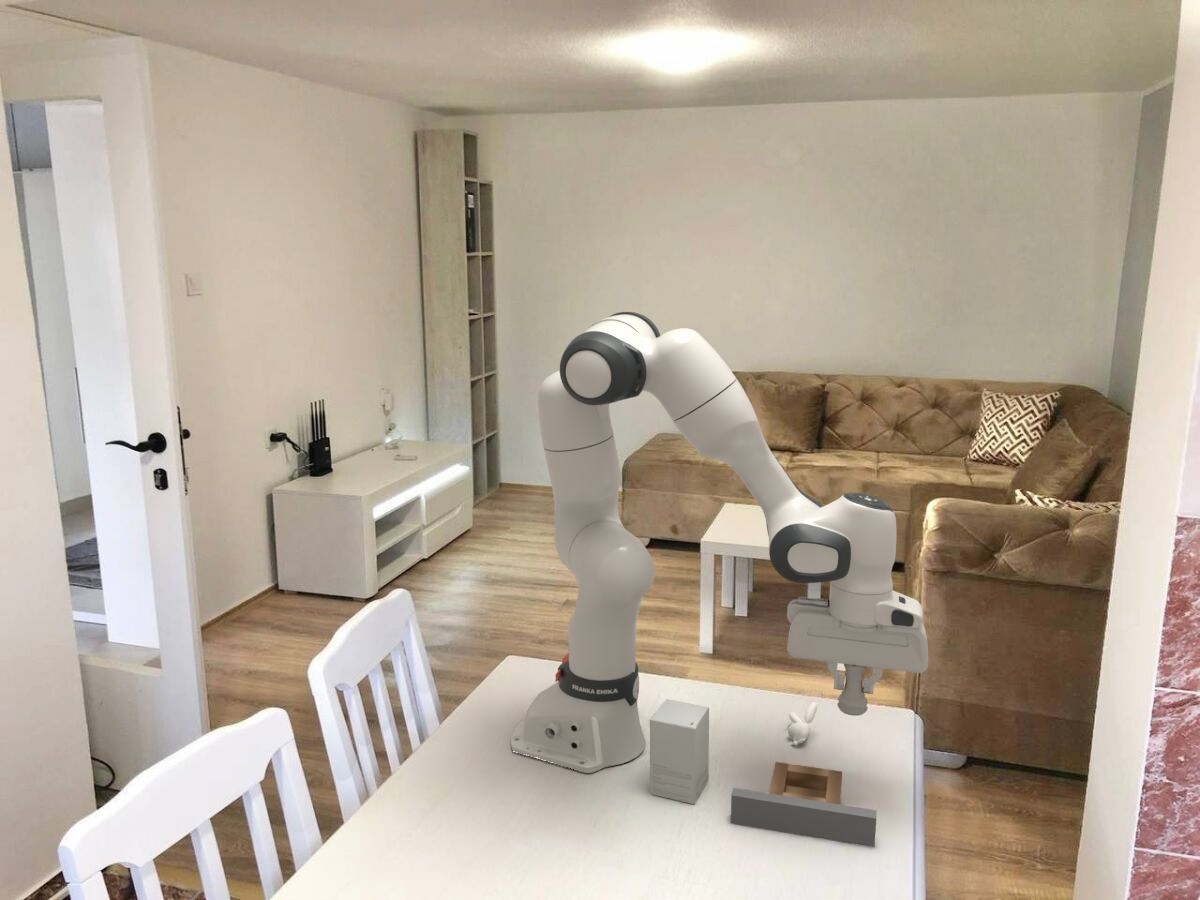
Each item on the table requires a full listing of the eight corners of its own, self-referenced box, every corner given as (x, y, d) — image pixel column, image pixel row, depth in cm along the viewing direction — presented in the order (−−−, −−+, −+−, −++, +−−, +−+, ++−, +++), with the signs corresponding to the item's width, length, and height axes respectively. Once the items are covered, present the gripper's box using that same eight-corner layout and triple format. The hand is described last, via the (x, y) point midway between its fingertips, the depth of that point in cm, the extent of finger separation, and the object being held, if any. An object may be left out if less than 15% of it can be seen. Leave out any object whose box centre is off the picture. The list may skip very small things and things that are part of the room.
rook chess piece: (868, 718, 138) (872, 668, 136) (837, 715, 138) (841, 665, 137) (866, 703, 142) (869, 655, 140) (836, 701, 143) (839, 652, 141)
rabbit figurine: (776, 743, 156) (784, 705, 162) (790, 757, 157) (798, 718, 163) (804, 736, 152) (811, 696, 158) (819, 750, 153) (826, 710, 159)
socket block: (767, 819, 135) (768, 797, 134) (774, 782, 144) (775, 761, 144) (838, 830, 132) (839, 808, 131) (841, 792, 141) (842, 771, 141)
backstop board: (730, 823, 134) (731, 795, 134) (732, 815, 136) (733, 787, 135) (874, 847, 129) (876, 818, 128) (874, 838, 131) (876, 810, 130)
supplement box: (709, 780, 145) (711, 706, 143) (694, 806, 139) (695, 728, 136) (665, 770, 148) (666, 697, 146) (648, 794, 142) (648, 718, 139)
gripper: (786, 602, 136) (781, 689, 139) (933, 618, 131) (925, 709, 134) (789, 588, 142) (784, 672, 145) (930, 603, 137) (922, 690, 140)
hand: (853, 690), depth 139 cm, fingers closed on rook chess piece, 3 cm apart
